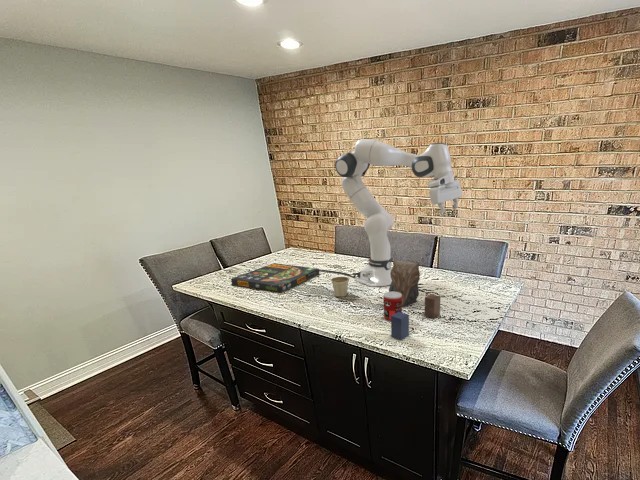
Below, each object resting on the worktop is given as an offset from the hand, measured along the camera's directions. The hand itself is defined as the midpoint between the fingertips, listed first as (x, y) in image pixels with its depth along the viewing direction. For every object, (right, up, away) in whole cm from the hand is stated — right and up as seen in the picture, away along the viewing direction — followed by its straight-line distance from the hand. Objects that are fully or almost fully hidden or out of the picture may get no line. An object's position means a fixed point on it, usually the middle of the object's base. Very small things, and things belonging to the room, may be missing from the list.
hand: (449, 210), depth 158 cm
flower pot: (-54, -40, +18) cm, 69 cm away
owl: (-22, -43, +8) cm, 49 cm away
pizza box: (-96, -30, +43) cm, 110 cm away
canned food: (-26, -50, -8) cm, 57 cm away
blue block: (-23, -56, -25) cm, 66 cm away
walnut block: (-9, -49, -7) cm, 50 cm away
